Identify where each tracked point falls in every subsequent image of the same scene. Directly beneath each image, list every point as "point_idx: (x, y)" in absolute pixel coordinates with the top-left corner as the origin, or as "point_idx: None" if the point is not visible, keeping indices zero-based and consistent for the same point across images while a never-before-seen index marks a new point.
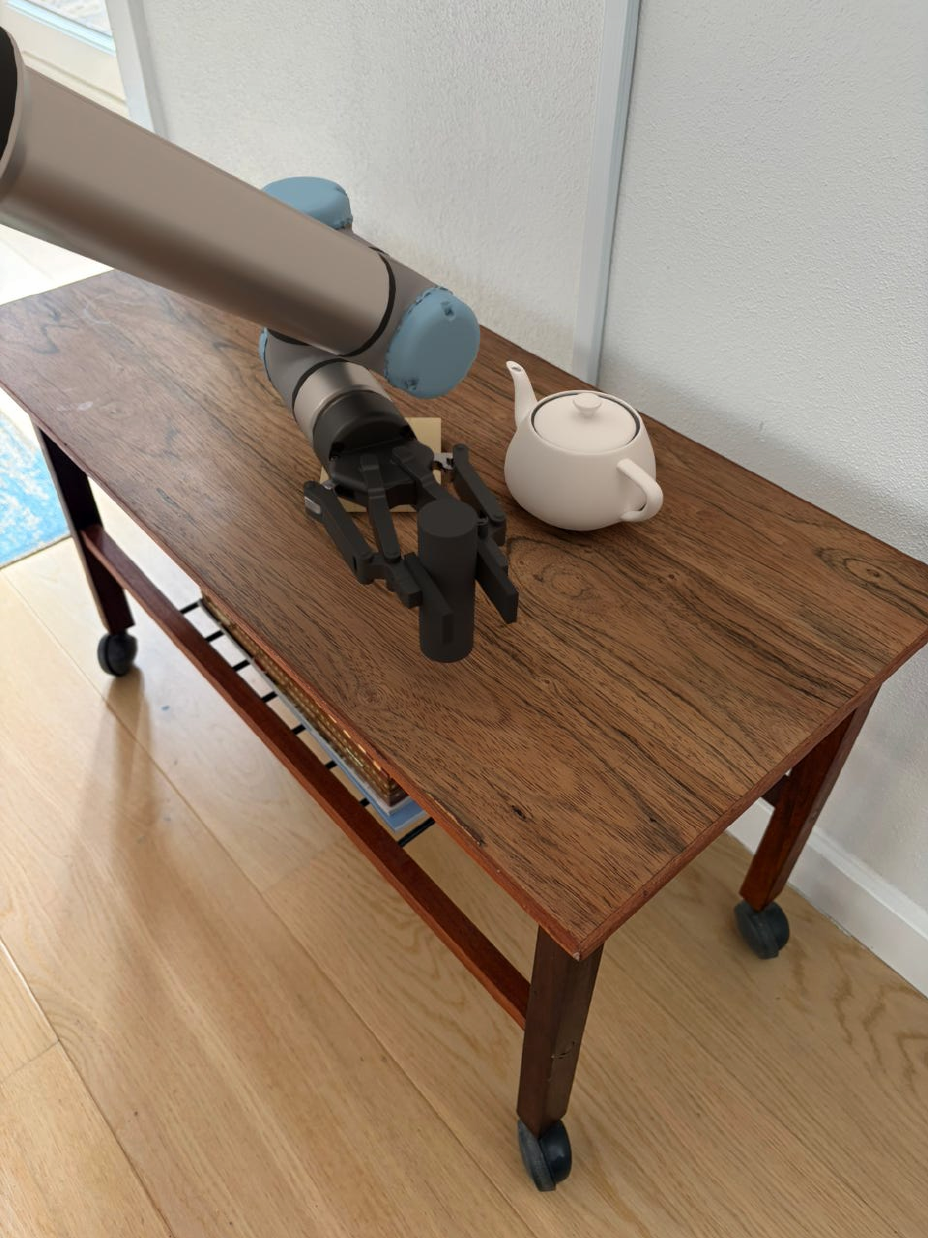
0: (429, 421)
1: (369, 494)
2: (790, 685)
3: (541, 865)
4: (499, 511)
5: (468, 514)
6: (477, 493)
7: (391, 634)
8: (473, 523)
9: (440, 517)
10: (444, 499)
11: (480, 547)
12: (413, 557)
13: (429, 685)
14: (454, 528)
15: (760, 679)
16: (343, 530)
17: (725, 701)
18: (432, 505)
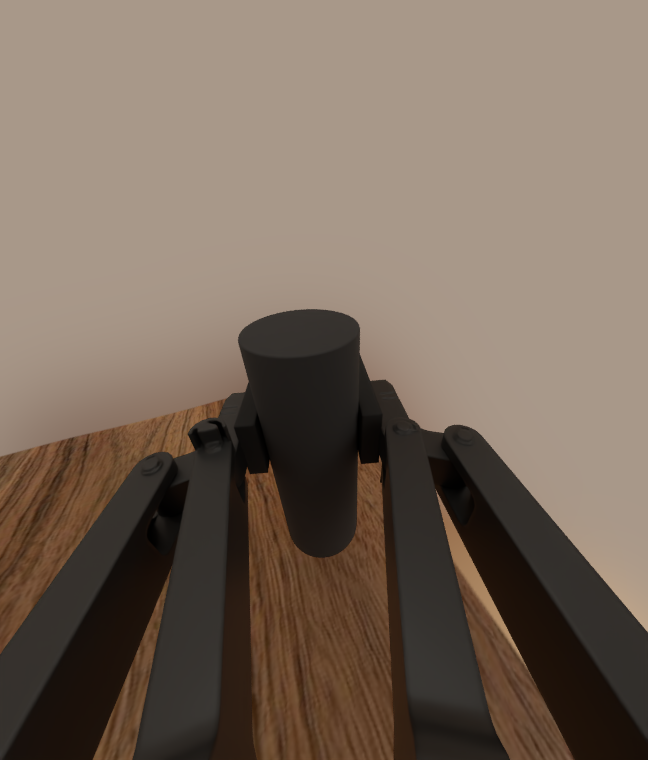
0: None
1: (498, 742)
2: (85, 455)
3: None
4: (136, 478)
5: (258, 329)
6: (100, 571)
7: (376, 702)
8: (265, 318)
9: (311, 329)
10: (275, 356)
11: (251, 401)
12: (366, 406)
13: (345, 555)
14: (301, 315)
15: (92, 465)
16: (546, 521)
17: (135, 455)
18: (312, 348)
